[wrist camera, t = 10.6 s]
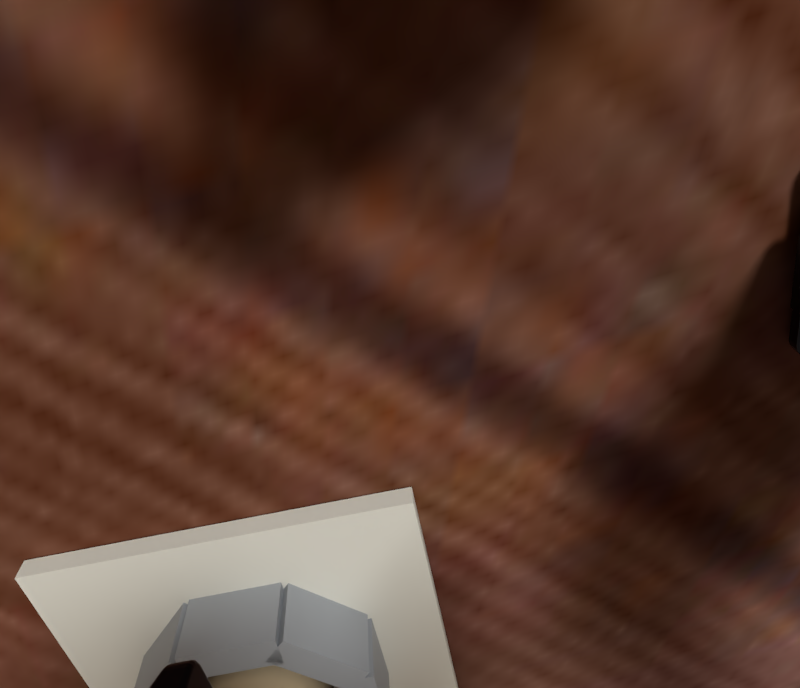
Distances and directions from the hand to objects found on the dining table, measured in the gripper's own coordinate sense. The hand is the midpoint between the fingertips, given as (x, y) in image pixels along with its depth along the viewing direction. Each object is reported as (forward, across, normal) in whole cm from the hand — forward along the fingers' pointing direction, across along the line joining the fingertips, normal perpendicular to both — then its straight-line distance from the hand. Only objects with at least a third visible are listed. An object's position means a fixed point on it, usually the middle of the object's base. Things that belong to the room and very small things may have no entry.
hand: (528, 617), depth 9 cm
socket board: (+12, +9, +15) cm, 21 cm away
